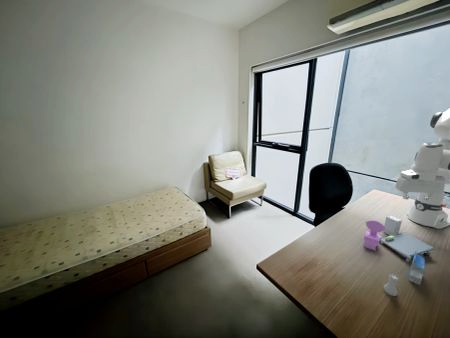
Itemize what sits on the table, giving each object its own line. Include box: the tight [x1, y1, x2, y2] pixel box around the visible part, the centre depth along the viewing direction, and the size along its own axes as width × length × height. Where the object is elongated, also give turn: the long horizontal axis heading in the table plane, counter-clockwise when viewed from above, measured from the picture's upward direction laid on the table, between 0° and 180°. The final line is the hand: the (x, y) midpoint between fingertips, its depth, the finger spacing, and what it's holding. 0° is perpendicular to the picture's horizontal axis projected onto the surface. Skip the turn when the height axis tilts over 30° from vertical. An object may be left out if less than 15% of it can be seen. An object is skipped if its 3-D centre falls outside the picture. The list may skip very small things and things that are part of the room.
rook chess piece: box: [383, 273, 400, 297], centre depth 77 cm, size 4×4×8 cm
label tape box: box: [408, 250, 426, 286], centre depth 83 cm, size 9×4×12 cm, turn 133°
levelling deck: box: [380, 231, 435, 258], centre depth 100 cm, size 16×14×3 cm
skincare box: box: [382, 215, 403, 236], centre depth 112 cm, size 6×4×12 cm
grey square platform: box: [379, 236, 433, 264], centre depth 101 cm, size 17×16×4 cm
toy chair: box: [363, 220, 385, 252], centre depth 102 cm, size 8×9×15 cm
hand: (415, 199), depth 99 cm, fingers open, 8 cm apart
